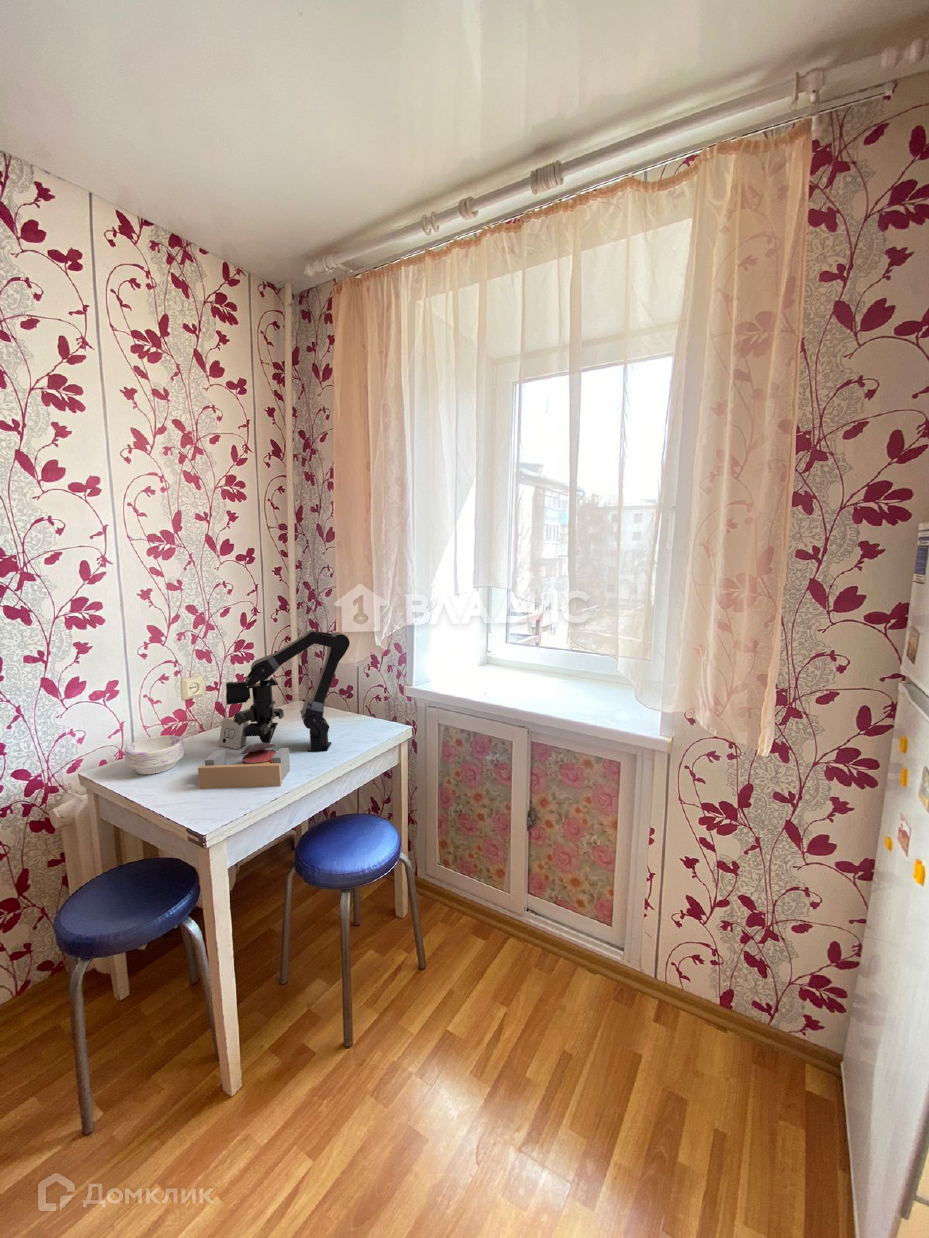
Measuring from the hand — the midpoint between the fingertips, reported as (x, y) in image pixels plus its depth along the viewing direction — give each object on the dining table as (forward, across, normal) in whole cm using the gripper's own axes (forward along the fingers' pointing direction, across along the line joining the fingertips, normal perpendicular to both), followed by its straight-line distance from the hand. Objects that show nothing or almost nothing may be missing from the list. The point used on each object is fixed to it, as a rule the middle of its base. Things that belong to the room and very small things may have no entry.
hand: (266, 747), depth 156 cm
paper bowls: (+3, +6, -31) cm, 32 cm away
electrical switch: (+3, -11, -15) cm, 19 cm away
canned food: (+3, +6, 0) cm, 7 cm away
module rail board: (+3, +15, 0) cm, 15 cm away
